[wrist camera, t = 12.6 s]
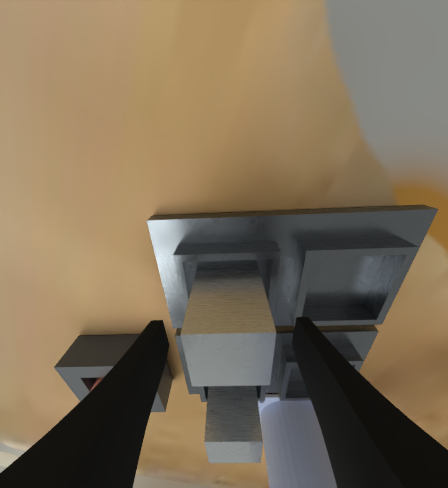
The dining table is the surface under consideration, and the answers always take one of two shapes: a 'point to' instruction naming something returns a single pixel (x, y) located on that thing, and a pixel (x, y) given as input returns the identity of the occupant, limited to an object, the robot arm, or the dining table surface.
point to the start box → (103, 365)
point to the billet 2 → (233, 425)
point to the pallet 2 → (285, 365)
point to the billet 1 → (228, 326)
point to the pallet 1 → (298, 257)
